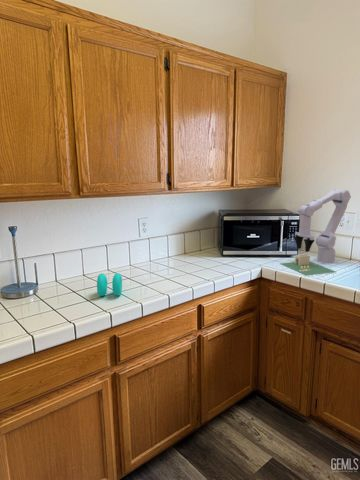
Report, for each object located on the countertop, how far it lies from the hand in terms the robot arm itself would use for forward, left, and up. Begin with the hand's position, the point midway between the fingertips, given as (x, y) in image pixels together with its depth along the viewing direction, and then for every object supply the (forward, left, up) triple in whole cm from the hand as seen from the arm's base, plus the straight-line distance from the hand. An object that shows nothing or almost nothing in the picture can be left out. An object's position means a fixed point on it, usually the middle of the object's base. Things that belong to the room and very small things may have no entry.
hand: (303, 249), depth 195 cm
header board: (+2, +7, -9) cm, 12 cm away
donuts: (+112, +15, -9) cm, 113 cm away
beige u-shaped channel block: (0, 0, -8) cm, 8 cm away
